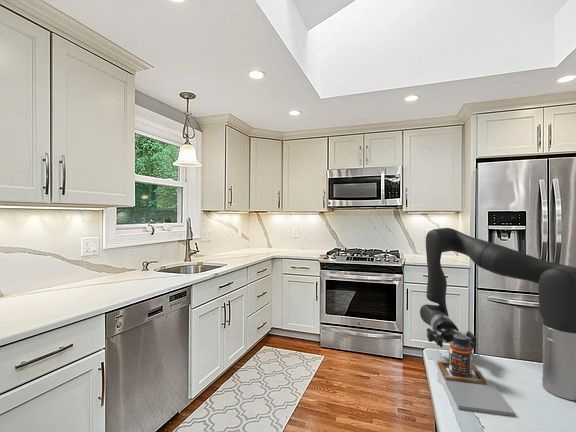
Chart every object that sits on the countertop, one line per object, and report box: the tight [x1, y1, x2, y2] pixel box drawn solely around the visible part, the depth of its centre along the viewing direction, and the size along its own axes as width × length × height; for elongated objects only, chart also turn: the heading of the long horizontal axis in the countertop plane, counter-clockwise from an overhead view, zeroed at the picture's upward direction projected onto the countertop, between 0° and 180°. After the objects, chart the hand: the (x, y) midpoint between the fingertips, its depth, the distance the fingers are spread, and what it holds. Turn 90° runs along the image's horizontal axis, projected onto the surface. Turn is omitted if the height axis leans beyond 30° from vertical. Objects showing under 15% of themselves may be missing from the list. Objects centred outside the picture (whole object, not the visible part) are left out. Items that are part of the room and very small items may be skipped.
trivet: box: [445, 381, 515, 417], centre depth 82 cm, size 12×12×1 cm
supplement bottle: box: [448, 334, 473, 378], centre depth 94 cm, size 6×6×11 cm
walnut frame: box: [436, 360, 488, 385], centre depth 94 cm, size 10×10×1 cm
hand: (456, 345), depth 98 cm, fingers open, 8 cm apart
